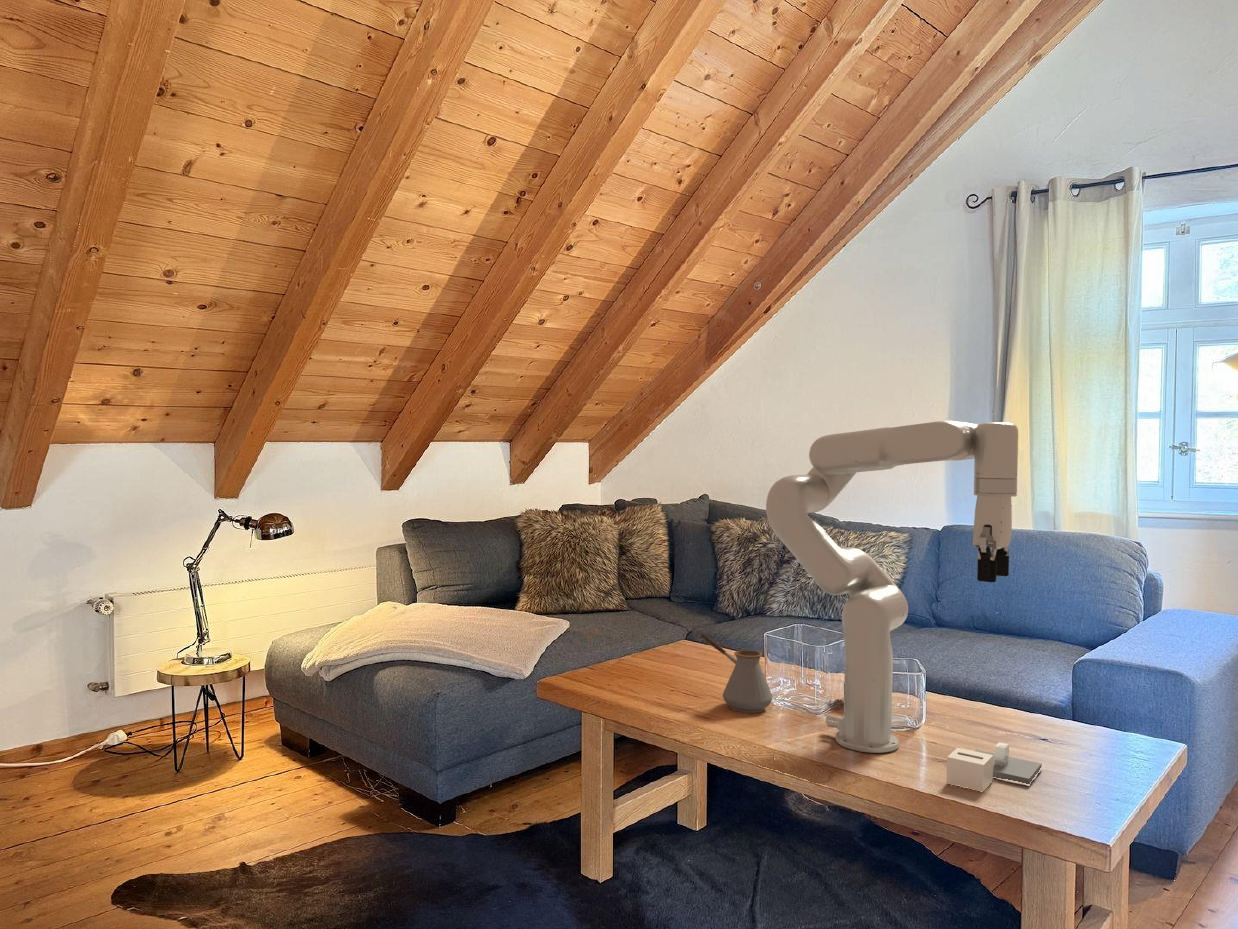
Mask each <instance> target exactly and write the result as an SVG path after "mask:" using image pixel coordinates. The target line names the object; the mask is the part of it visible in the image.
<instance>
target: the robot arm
mask: <svg viewBox="0 0 1238 929" xmlns="http://www.w3.org/2000/svg"><path fill="white" fill-rule="evenodd" d="M1018 457H1019V429H1018V426H1017V425H1016V424H1014V423H1012V422H996V421H995V422H991V421H990V422H982V423H971V422H970V423H969V422H964V421H955V420H940V421H931V422H923V423H916V424H909V425H908V424H907V425H900V426H895V427H894V426H892V427H889V426H887V427H879V428H874V429H873V428H871V429H863V430H856V431H855V430H854V431H849V432H839V433H832V434H831V433H830V434H826V435H823V436H821V437H818V438H817V439H815V440H814V442H813V443H812V444H811V445H810V449H809V452H808V458H809V461H810V463H811V466H812V468H811V469H809V471H808V473H806V474H793V475H788V476H784V477H781V478H780V479H778V480H776V481H775V482H774V484H773V485H772V486H771V487H770V489H769V491H768V494H767V496H766V503H765V512H766V518H767V521H768V523H769V526H770V527H771V529H772V531H773V532H774V534H775V535H776V536H777V538H778V539H779V540H780V542H781V543H782V544H783V545H784V546H785V548H787V549H788V551H789V552H790V553H791V554H792V555H793V557H795V559H796V560H797V562H798V563H799V564H800V565H801V567H803V569H804V570H805V571H806V573H807V574H808V575H809V576H810V577H811V578H812V579H813V581H814V582H815V584H816V585H817V586H818V587H819V588H820V589H821V591H823V592H824V593H826V594H829V595H830V596H840V595H845V594H848V596H849V598H848V599H847V601H846V602H845V604H844V606H843V608H842V613H841V624H842V631H843V632H842V633H843V641H844V669H845V673H844V681H843V683H844V698H843V716H841V717H840V716H836V715H832V714H827V715H826V717H825V723H826V726H827V727H828V728H829V727H830V728H836V729H837V730H838V731H837V732H836V733H835V742H836V743H837V744H838V745H839V746H841V747H844V748H846V749H848V750H852V751H856V752H862V753H869V754H870V753H871V754H872V753H873V754H882V753H884V754H885V753H891V752H894V751H896V750H897V749H898V748H899V747H900V739H898V737H897V736H895V735H894V734H892V717H893V716H892V714H893V713H892V710H893V708H892V707H893V668H894V667H893V666H894V665H893V664H894V661H893V660H894V659H893V656H894V654H893V648H892V647H893V646H892V642H891V631H894V630H895V629H898V627H900V626H902V625H903V624H904V622H905V621H906V620H907V617H908V614H909V604H908V600H907V598H906V597H905V595H904V594H903V591H901V590H900V588H899V587H898V586H897V585H896V583H895V582H893V580H892V578H890V576H888V574H887V573H886V572H885V571H884V570H883V569H882V568H881V567H880V565H878V563H877V562H876V561H875V559H873V558H872V557H871V556H870V555H869V554H867V553H866V552H865V551H863V550H862V549H859V548H856V547H851V546H849V547H841V546H839V545H838V544H837V542H835V541H834V540H833V539H832V538H831V537H830V536H829V534H828V533H827V532H826V530H825V529H824V528H823V527H822V526H821V525H820V524H818V523H817V522H816V521H814V520H813V519H812V518H811V517H810V516H809V514H811V513H818V512H821V511H823V510H824V509H826V508H827V507H828V506H830V504H831V503H832V502H833V501H834V500H835V499H836V498H837V497H838V495H839V494H841V492H842V491H843V490H844V488H845V487H846V486H847V485H848V484H849V483H850V481H851V480H852V479H853V478H854V476H855V475H856V474H857V473H863V472H866V473H867V472H872V471H873V472H874V471H875V472H876V471H886V470H891V469H893V468H896V467H898V466H903V465H911V464H920V463H922V464H923V463H933V462H945V461H966V460H973V459H974V463H973V464H974V465H973V467H974V468H973V496H976V500H975V501H976V503H975V509H974V520H973V534H972V536H973V537H972V545H973V547H975V548H976V549H977V548H978V549H977V550H978V552H977V571H976V573H977V574H976V575H977V577H976V579H977V581H978V582H982V583H983V582H985V583H986V582H987V583H996V582H997V577H1008V576H1009V574H1010V573H1009V572H1010V555H1009V554H1010V549H1009V546H1010V545H1011V542H1012V524H1013V523H1012V522H1013V521H1012V520H1013V515H1012V514H1013V511H1012V506H1013V505H1012V497H1015V498H1016V497H1017V496H1018V468H1019V467H1018V462H1019V461H1018V459H1019V458H1018Z"/></svg>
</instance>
